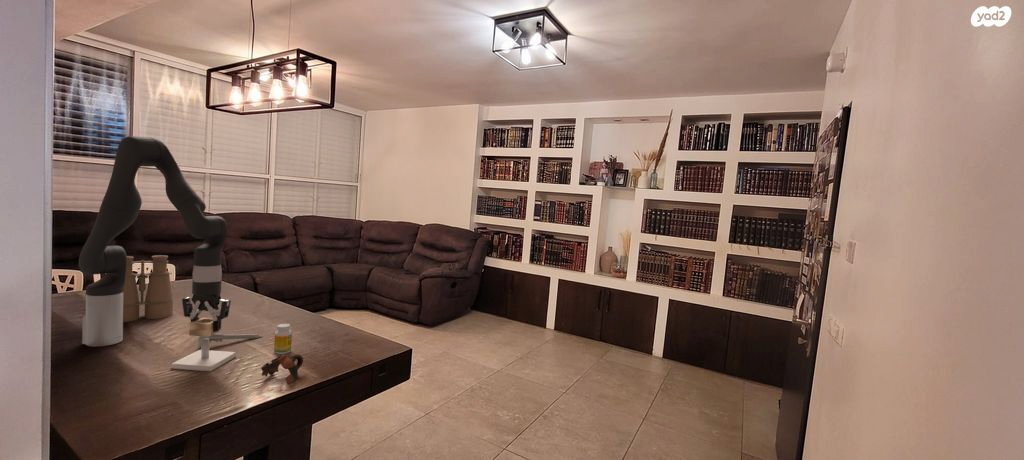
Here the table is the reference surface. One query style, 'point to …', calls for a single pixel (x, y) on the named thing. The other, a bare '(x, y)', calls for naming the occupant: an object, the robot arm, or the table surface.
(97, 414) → the table surface
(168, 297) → the binoculars
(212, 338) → the caliper
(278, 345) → the supplement bottle
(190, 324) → the hollow block
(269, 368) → the brown curved piece
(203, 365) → the peg base plate
